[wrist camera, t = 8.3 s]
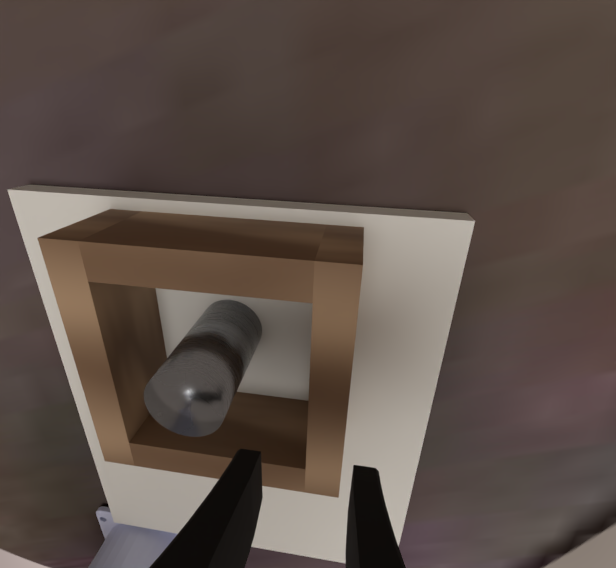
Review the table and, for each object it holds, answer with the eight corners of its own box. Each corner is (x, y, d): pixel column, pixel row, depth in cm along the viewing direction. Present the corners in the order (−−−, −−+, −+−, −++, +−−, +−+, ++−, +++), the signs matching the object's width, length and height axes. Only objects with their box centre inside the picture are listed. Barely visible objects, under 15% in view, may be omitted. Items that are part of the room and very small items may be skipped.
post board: (391, 552, 26) (398, 682, 20) (123, 506, 28) (59, 611, 22) (467, 212, 15) (529, 278, 9) (29, 184, 17) (-139, 222, 12)
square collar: (343, 426, 20) (338, 497, 16) (149, 400, 21) (104, 461, 17) (363, 227, 15) (363, 265, 11) (110, 208, 16) (37, 237, 13)
